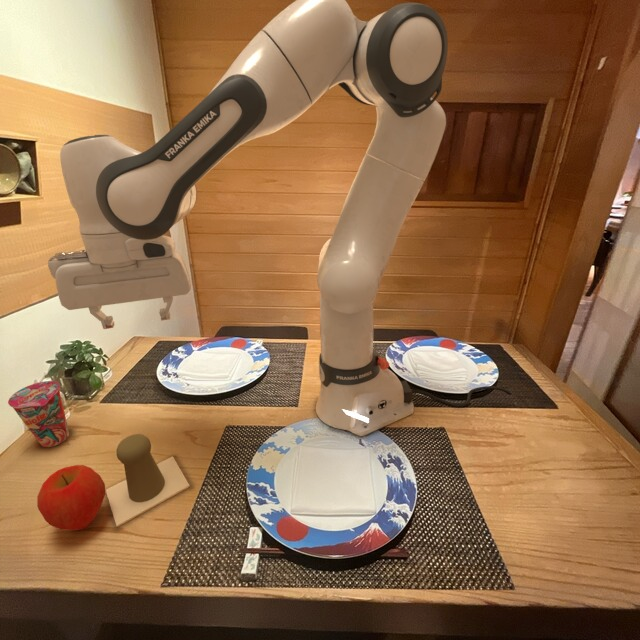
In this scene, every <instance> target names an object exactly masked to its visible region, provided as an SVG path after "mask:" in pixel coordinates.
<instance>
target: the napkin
mask: <svg viewBox="0 0 640 640" xmlns="http://www.w3.org/2000/svg"><path fill="white" fill-rule="evenodd" d="M156 464H157V466H158V468H159V470H160V471H161V473H162V475H163V477H164V480H165V485H164V487H163V489H162V491H161V492H160V493H159V494H158V495H157V496H155V497H154V498H152V499H150V500H148V501H145V502H134V501H132V500H131V499H130V498H129V494H128V487H127V481H126V479H124V480H122V481H120V482H117V483H116V484H114V485H112V486H110V487H108V488H105V494H106V496H107V500H108V504H109V506H110V510H111V514H112V516H113V520H114V523H115V526H116V528H119V527H121V526H123V525H124V524H126V523H128V522H129V521H131V520H133V519H135V518H137V517H138V516H140V515H142V514H144V513H145V512H147V511H150V510H151V509H153V508H154V507H156V506H158V505H160V504H162V503H164V502H165V501H167V500H170V499H171V498H172V497H174V496H176V495H178V494H180V493H182V492H184V491H185V490H187V489H189V488H190V487H191V486H190V483H188V480H187V478H186V477H185V475H184V473H183V471H182V470H181V468H180V466H179V464H178V462H177V461H176V459H175V457H174V456H170V457H168V458H166V459H164V460H162V461H160V462H158V463H156Z"/></svg>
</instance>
